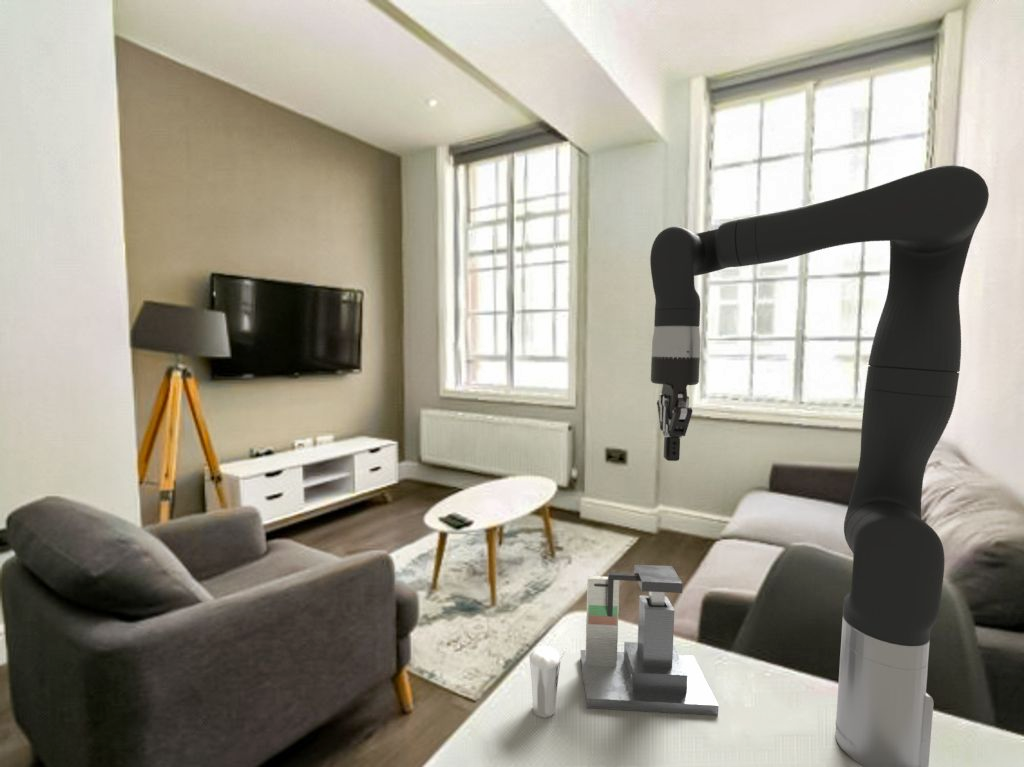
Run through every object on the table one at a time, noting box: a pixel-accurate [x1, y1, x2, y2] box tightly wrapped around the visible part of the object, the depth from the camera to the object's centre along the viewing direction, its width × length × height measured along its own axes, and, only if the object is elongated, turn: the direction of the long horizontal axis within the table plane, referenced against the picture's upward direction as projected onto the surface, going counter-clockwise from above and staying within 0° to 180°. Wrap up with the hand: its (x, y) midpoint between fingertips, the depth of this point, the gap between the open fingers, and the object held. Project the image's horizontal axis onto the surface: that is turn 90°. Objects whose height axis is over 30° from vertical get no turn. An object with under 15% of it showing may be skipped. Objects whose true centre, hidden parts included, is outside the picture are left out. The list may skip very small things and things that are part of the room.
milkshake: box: [529, 645, 567, 719], centre depth 73 cm, size 4×5×10 cm
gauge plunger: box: [607, 564, 683, 617], centre depth 79 cm, size 10×6×12 cm, turn 87°
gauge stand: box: [580, 575, 719, 716], centre depth 79 cm, size 19×12×16 cm, turn 87°
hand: (671, 459), depth 83 cm, fingers closed
